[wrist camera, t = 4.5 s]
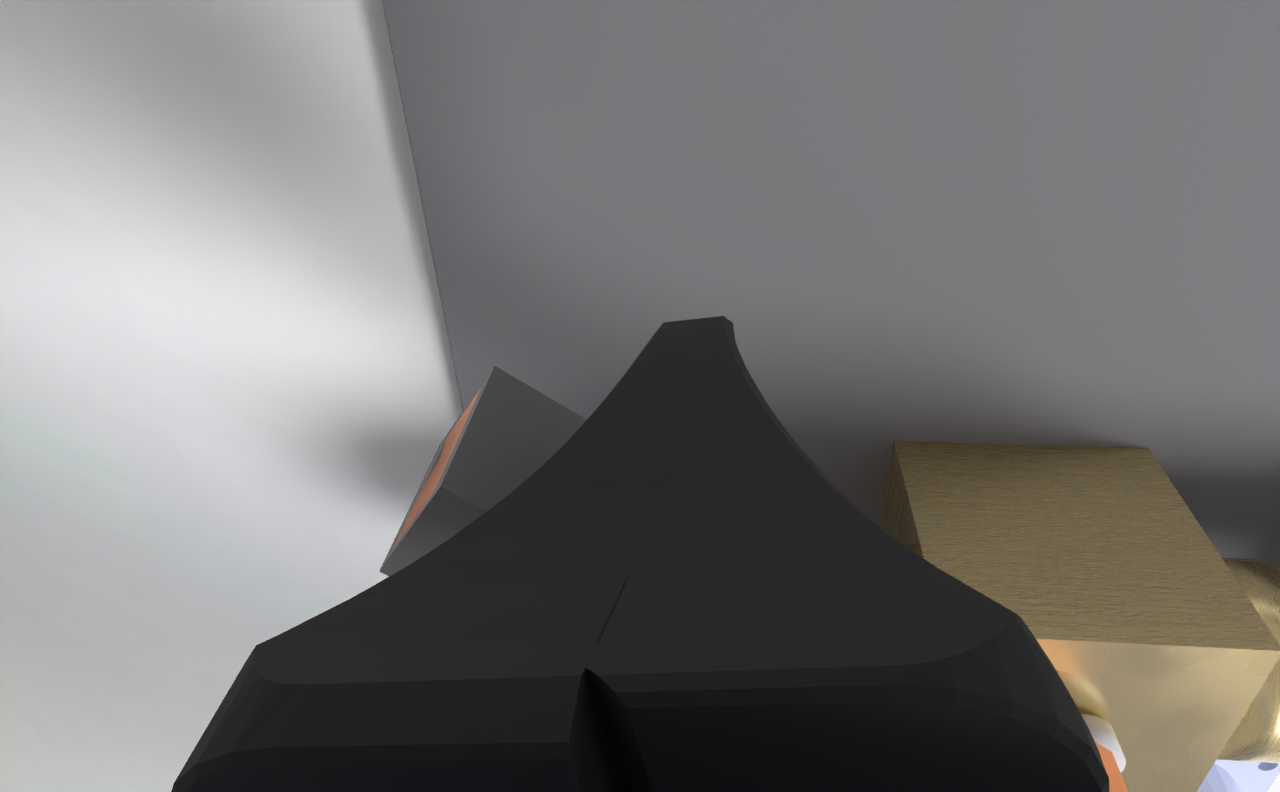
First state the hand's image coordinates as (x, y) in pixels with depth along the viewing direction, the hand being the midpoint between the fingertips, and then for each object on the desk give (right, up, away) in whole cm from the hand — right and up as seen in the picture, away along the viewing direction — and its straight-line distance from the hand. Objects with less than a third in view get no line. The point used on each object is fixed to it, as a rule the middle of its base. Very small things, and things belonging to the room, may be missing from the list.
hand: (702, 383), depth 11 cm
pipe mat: (+8, 0, +7) cm, 11 cm away
